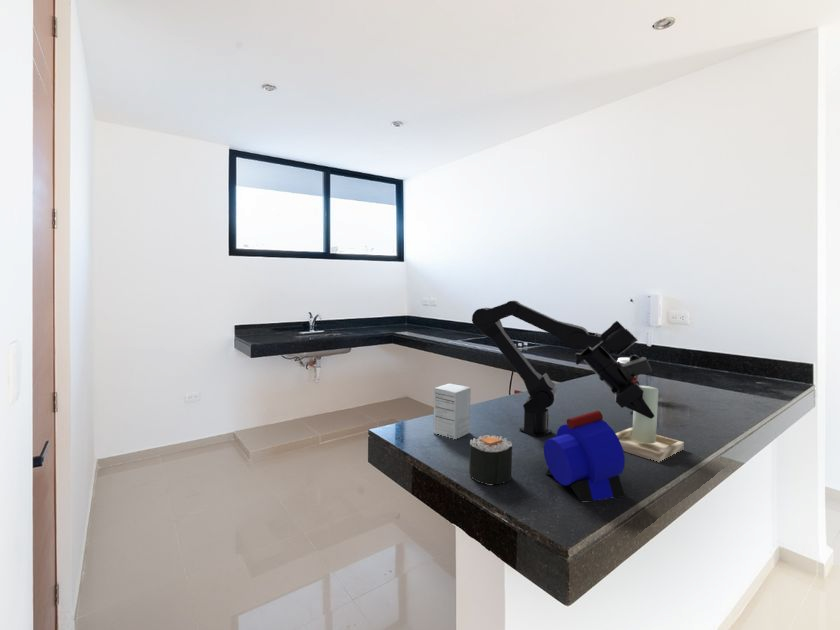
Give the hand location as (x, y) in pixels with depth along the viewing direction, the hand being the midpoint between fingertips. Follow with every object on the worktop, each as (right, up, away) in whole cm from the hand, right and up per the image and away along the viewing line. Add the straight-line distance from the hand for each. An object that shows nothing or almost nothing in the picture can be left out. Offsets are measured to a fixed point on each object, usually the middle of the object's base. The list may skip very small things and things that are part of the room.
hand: (651, 414), depth 103 cm
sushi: (-43, -9, -16) cm, 47 cm away
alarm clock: (-25, -10, -20) cm, 33 cm away
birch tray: (-1, -9, +1) cm, 9 cm away
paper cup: (+19, -6, +51) cm, 55 cm away
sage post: (-1, -7, +1) cm, 7 cm away
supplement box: (-49, -8, +9) cm, 50 cm away
